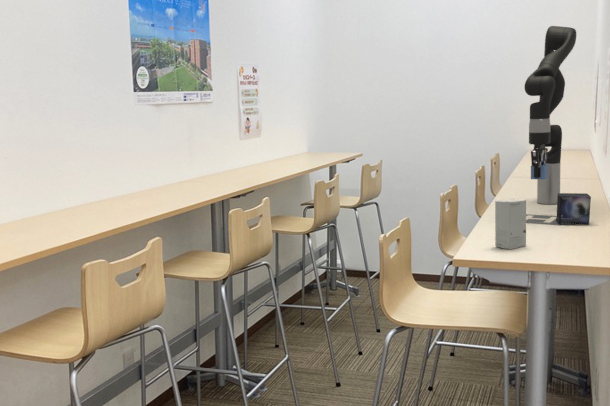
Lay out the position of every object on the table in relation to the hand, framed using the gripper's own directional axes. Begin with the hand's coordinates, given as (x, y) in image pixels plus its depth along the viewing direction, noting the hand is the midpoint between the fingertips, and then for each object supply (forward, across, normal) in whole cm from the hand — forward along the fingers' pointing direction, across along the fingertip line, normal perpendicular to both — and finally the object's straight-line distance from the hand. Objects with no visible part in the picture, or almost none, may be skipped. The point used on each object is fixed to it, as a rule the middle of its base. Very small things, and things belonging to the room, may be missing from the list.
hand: (539, 176), depth 261 cm
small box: (+16, -4, -13) cm, 21 cm away
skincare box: (+17, -49, -5) cm, 52 cm away
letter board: (+16, 0, 0) cm, 16 cm away
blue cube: (+1, 0, 0) cm, 1 cm away
